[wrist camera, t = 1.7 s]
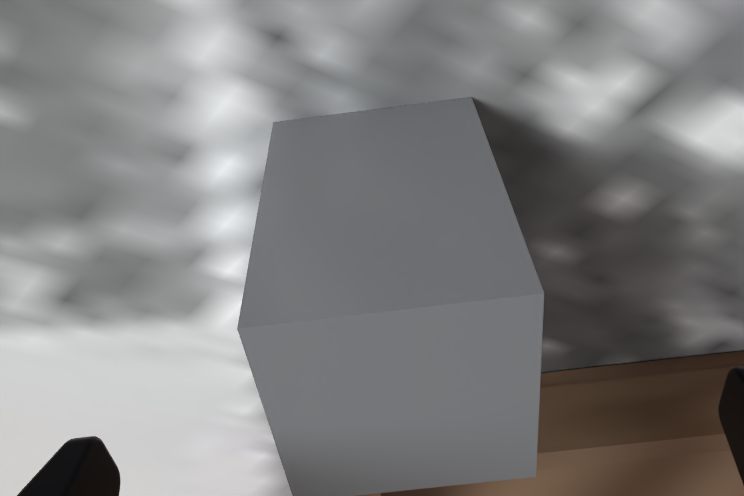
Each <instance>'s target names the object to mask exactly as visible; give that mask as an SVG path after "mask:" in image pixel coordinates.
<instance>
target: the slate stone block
mask: <svg viewBox="0 0 744 496" xmlns="http://www.w3.org/2000/svg"><path fill="white" fill-rule="evenodd" d="M543 310H544V291H543V289H542V286H541V283H540V280H539V278H538V275H537V272H536V270H535V267H534V264H533V262H532V259H531V256H530V253H529V251H528V248H527V245H526V243H525V240H524V237H523V235H522V232H521V229H520V226H519V224H518V221H517V218H516V216H515V213H514V210H513V208H512V205H511V202H510V199H509V197H508V194H507V191H506V189H505V186H504V183H503V181H502V178H501V175H500V172H499V170H498V167H497V164H496V162H495V159H494V156H493V154H492V151H491V148H490V145H489V143H488V140H487V137H486V135H485V132H484V129H483V126H482V124H481V121H480V118H479V116H478V113H477V110H476V108H475V105H474V102H473V99H472V97H467V98H459V99H451V100H444V101H436V102H428V103H420V104H412V105H404V106H397V107H389V108H381V109H373V110H365V111H358V112H350V113H342V114H334V115H326V116H318V117H311V118H303V119H295V120H287V121H279V122H273V127H272V133H271V139H270V144H269V150H268V156H267V162H266V167H265V173H264V179H263V185H262V190H261V196H260V202H259V208H258V213H257V219H256V225H255V230H254V236H253V242H252V248H251V253H250V259H249V265H248V271H247V276H246V282H245V288H244V294H243V299H242V305H241V311H240V317H239V322H238V328H237V329H238V332H239V335H240V338H241V341H242V344H243V347H244V350H245V353H246V356H247V359H248V362H249V365H250V368H251V371H252V374H253V377H254V380H255V383H256V386H257V389H258V392H259V395H260V398H261V401H262V404H263V407H264V410H265V413H266V416H267V419H268V422H269V425H270V428H271V431H272V434H273V437H274V440H275V443H276V446H277V450H278V453H279V456H280V459H281V462H282V465H283V468H284V471H285V474H286V477H287V480H288V483H289V486H290V489H291V492H292V495H293V496H356V495H366V494H376V493H385V492H395V491H404V490H414V489H424V488H433V487H443V486H453V485H462V484H472V483H481V482H491V481H501V480H510V479H520V478H529V477H536V467H537V445H538V423H539V400H540V378H541V355H542V333H543Z"/></svg>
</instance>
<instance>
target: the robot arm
mask: <svg viewBox="0 0 744 496" xmlns="http://www.w3.org/2000/svg"><path fill="white" fill-rule="evenodd" d="M718 413H719V419H720V422H721V425H722V428H723V431H724V433H725V436H726V439H727V442H728V444H729V447H730V450H731V453H732V455H733V458H734V461H735V464H736V466H737V469H738V472H739V474H740V477H741V480H742V483H743V485H744V366H740V367H734V368H732V369H731V370H730V371H729V372H728V374H727V377H726V381H725V384H724V387H723V391H722V394H721V398H720V401H719V406H718ZM119 490H120V473H119V470H118V467H117V466H116V464H115V462H114V460H113V459H112V457H111V455H110V454H109V452H108V450H107V448H106V447H105V445H104V443H103V442H102V440H101V439H100V438H98V437H95V436H92V437H82V438H74V439H71V440H69V441H67V442H66V443H65V444H64V445H63V446H62V447H61V448H60V449H59V450H58V451H57V452H56V453H55V454H54V456H53V457H52V458H51V459H50V460H49V461H48V462H47V463H46V464H45V465H44V467H43V468H42V469H41V470H40V471H39V472H38V473H37V474H36V475H35V476H34V477H33V479H32V480H31V481H30V482H29V483H28V484H27V485H26V486H25V487H24V488H23V489H22V491H21V492H20V493H19V494H18V495H17V496H119Z"/></svg>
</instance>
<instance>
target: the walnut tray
mask: <svg viewBox="0 0 744 496" xmlns="http://www.w3.org/2000/svg"><path fill="white" fill-rule="evenodd" d="M740 366H744V351H737V352H728V353H719V354H710V355H701V356H692V357H683V358H674V359H665V360H656V361H647V362H638V363H629V364H619V365H610V366H601V367H592V368H583V369H574V370H565V371H556V372H547V373H541V378H540V400H539V423H538V445H537V467H536V477H529V478H520V479H510V480H501V481H491V482H481V483H472V484H462V485H453V486H443V487H433V488H424V489H414V490H404V491H395V492H385V493H376V494H366V495H356V496H744V485H743V483H742V480H741V477H740V474H739V472H738V469H737V466H736V464H735V461H734V458H733V455H732V453H731V450H730V447H729V444H728V442H727V439H726V436H725V433H724V431H723V428H722V425H721V422H720V419H719V413H718V406H719V401H720V398H721V394H722V391H723V387H724V384H725V381H726V377H727V374H728V372H729V371H730V370H731V369H732V368H734V367H740Z"/></svg>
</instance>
